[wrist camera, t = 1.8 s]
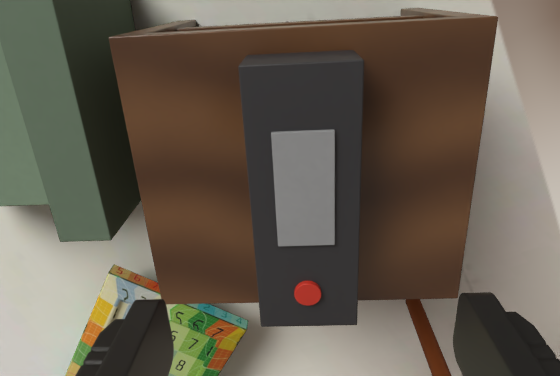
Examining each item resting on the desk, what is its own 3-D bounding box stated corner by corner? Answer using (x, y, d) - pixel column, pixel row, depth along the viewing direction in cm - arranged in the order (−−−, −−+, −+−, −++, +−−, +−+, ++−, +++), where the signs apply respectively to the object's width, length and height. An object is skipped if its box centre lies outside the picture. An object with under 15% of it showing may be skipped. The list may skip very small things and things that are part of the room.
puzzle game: (37, 437, 40) (103, 279, 32) (62, 393, 44) (126, 245, 36) (156, 477, 42) (245, 338, 34) (169, 432, 46) (251, 299, 38)
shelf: (178, 20, 29) (107, 36, 18) (419, 7, 28) (499, 16, 17) (203, 207, 35) (162, 304, 24) (405, 200, 34) (457, 298, 23)
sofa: (-13, 180, 34) (-124, 247, 25) (-82, -14, 29) (-258, -18, 19) (160, 173, 34) (111, 240, 24) (125, -27, 28) (43, -37, 19)
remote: (246, 54, 18) (236, 66, 15) (353, 49, 18) (365, 60, 15) (265, 287, 23) (260, 331, 20) (349, 285, 23) (357, 329, 20)
